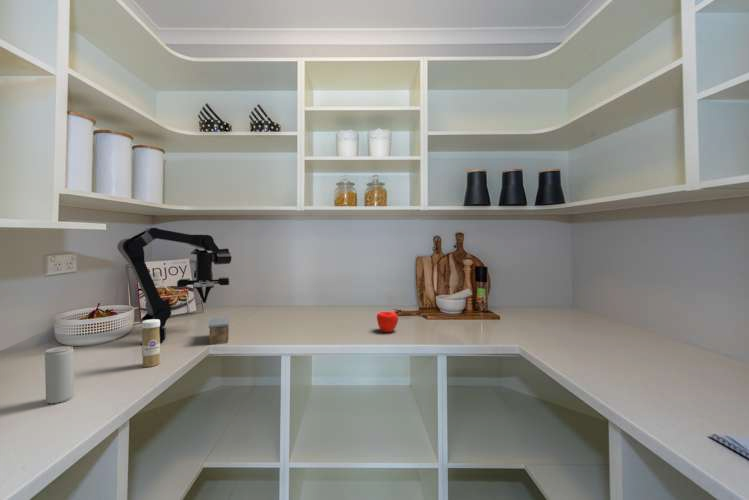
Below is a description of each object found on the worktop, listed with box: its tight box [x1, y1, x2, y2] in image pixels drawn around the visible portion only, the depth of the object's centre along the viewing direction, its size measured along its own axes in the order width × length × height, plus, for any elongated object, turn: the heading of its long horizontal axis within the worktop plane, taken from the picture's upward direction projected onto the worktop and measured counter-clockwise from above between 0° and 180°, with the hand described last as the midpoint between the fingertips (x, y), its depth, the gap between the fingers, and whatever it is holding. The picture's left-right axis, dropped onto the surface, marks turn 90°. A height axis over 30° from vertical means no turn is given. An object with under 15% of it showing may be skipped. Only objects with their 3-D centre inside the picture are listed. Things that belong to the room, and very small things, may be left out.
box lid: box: [208, 316, 230, 329], centre depth 123 cm, size 6×13×1 cm, turn 22°
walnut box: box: [209, 322, 230, 345], centre depth 123 cm, size 6×12×6 cm, turn 22°
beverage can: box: [44, 345, 75, 404], centre depth 75 cm, size 5×5×12 cm
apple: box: [376, 311, 399, 333], centre depth 136 cm, size 9×9×8 cm
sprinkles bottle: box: [141, 319, 161, 368], centre depth 97 cm, size 5×5×14 cm
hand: (204, 302), depth 134 cm, fingers closed
